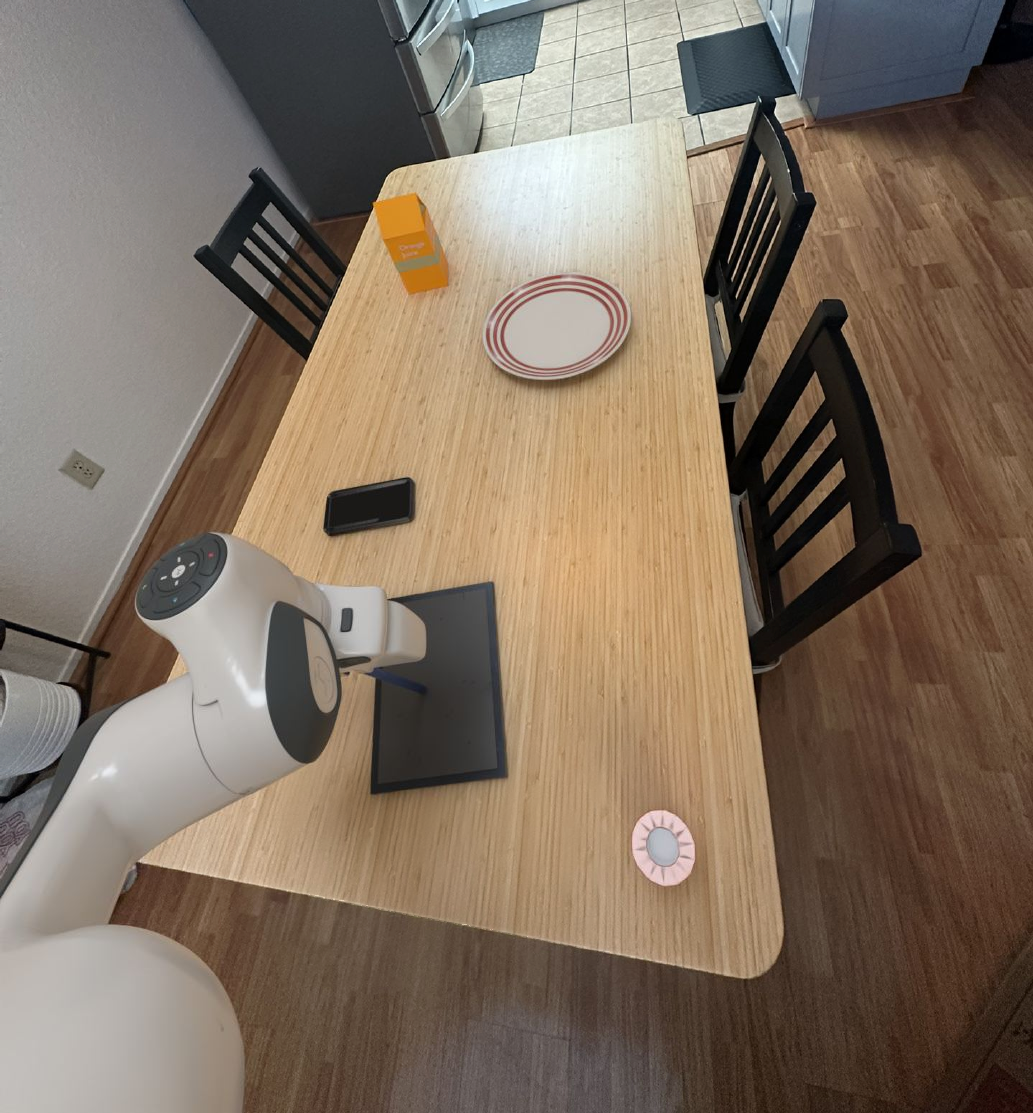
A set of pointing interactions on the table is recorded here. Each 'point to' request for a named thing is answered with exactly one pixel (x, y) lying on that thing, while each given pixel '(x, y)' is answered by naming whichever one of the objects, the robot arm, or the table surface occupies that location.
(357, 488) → the phone
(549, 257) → the table surface
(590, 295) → the dinner plate
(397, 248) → the orange juice
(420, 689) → the stylus
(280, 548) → the table surface
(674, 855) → the holder
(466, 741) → the tablet
